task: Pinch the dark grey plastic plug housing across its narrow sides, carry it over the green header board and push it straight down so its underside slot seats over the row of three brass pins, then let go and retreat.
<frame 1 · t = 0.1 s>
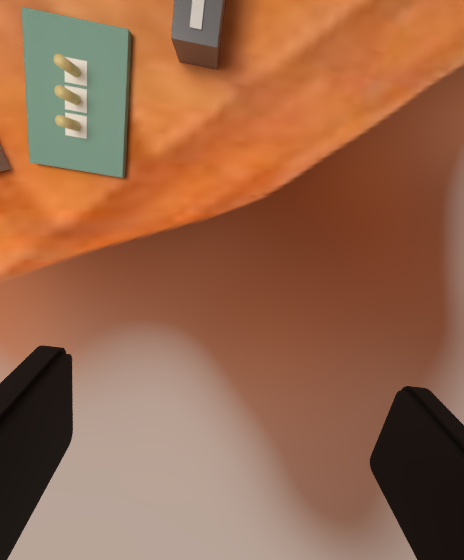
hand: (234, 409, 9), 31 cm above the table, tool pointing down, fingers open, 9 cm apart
header board: (81, 102, 33), on the table
plug housing: (203, 13, 31), on the table
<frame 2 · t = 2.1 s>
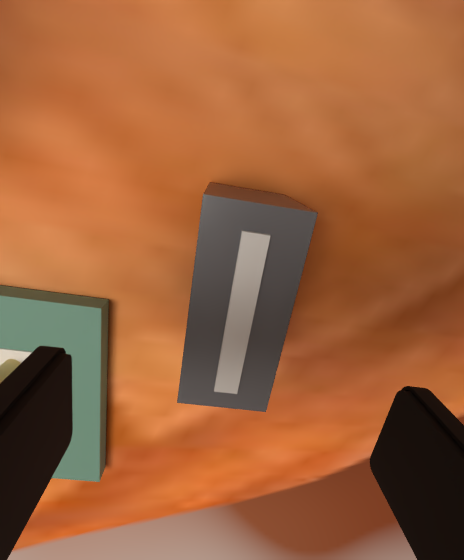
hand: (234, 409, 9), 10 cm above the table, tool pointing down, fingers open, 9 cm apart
header board: (29, 384, 20), on the table
plug housing: (233, 268, 18), on the table
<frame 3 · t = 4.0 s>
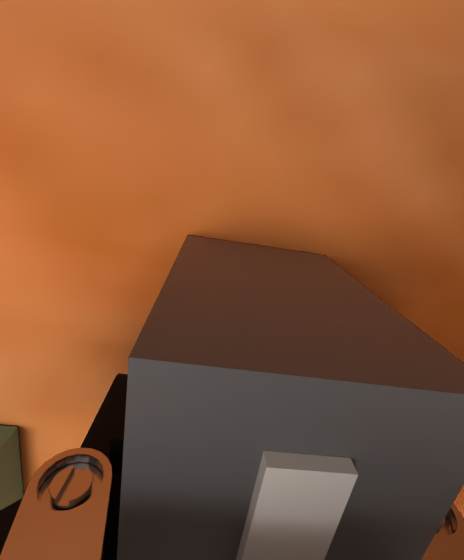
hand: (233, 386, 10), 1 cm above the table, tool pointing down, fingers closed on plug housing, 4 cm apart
plug housing: (232, 376, 10), on the table, touching gripper
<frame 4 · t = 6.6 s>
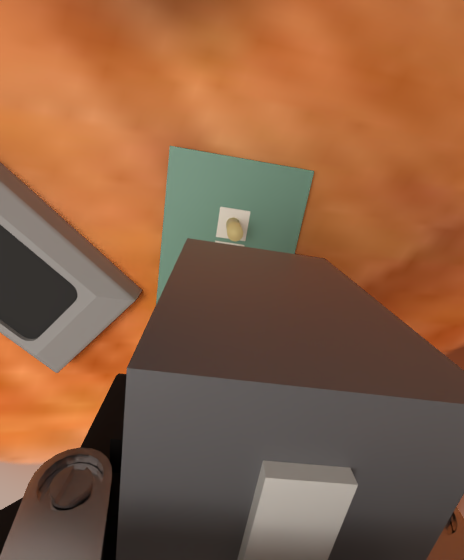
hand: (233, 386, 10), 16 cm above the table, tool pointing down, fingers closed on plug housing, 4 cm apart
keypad: (33, 261, 25), on the table
header board: (227, 252, 24), on the table
plug housing: (232, 379, 10), point 15 cm above the table, touching gripper
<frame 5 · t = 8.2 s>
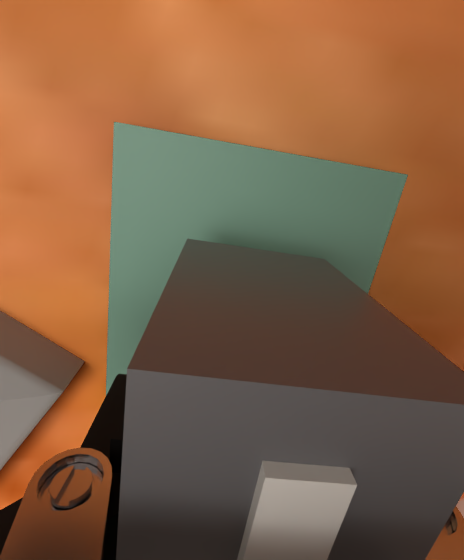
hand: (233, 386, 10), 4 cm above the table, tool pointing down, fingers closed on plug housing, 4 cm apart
header board: (232, 319, 14), on the table
plug housing: (232, 379, 10), point 4 cm above the table, touching gripper
when the fingers open (3 cm above the table, at t = 9.5 s): plug housing stays where it is, resting on header board.
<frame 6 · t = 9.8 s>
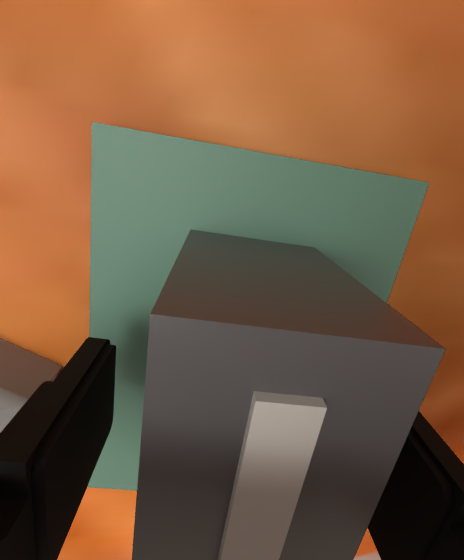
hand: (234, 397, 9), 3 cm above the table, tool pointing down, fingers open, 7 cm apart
header board: (230, 342, 12), on the table
plug housing: (232, 359, 11), point 1 cm above the table, touching header board
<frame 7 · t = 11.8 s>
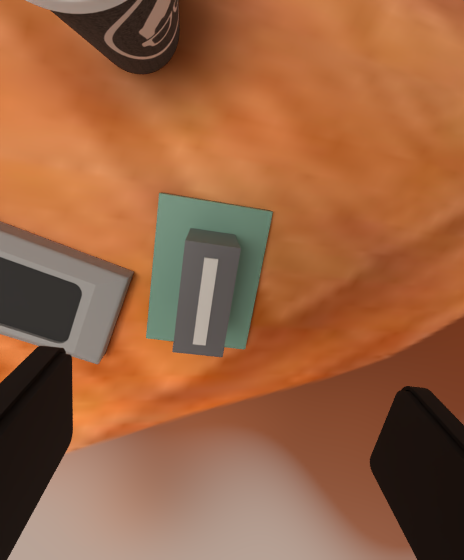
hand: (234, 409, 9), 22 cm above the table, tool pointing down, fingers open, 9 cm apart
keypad: (45, 285, 30), on the table
header board: (206, 274, 30), on the table
plug housing: (206, 278, 29), point 1 cm above the table, touching header board
coffee cup: (137, 26, 24), on the table
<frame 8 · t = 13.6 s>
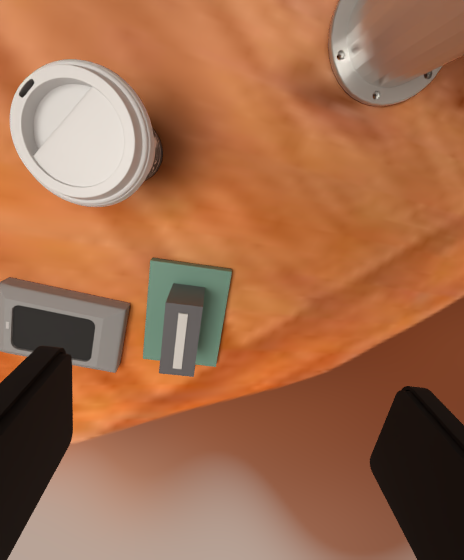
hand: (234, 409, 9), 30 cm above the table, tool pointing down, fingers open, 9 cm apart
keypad: (70, 320, 41), on the table
header board: (186, 313, 41), on the table
plug housing: (185, 317, 40), point 1 cm above the table, touching header board
coffee cup: (133, 150, 34), on the table
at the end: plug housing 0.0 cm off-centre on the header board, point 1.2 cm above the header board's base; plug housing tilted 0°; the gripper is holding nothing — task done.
